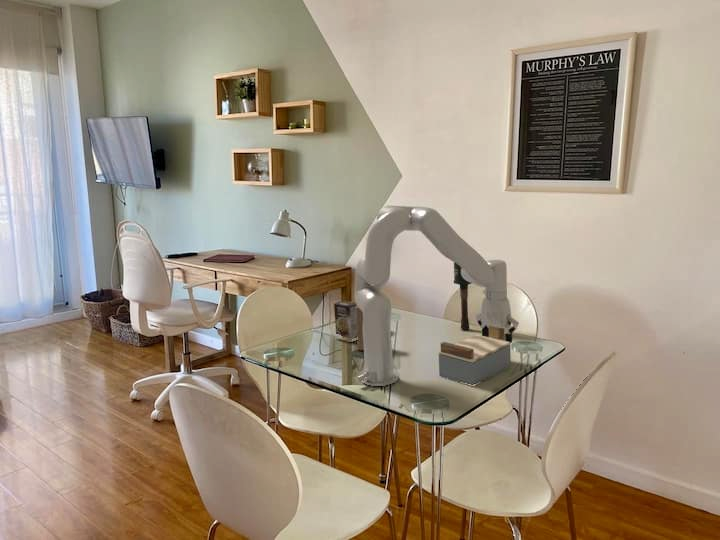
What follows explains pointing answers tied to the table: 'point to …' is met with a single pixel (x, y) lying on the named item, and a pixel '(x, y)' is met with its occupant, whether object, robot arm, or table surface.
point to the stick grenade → (462, 296)
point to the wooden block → (359, 328)
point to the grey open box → (474, 367)
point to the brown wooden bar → (497, 333)
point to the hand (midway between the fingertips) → (496, 341)
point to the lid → (473, 348)
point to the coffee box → (346, 319)
